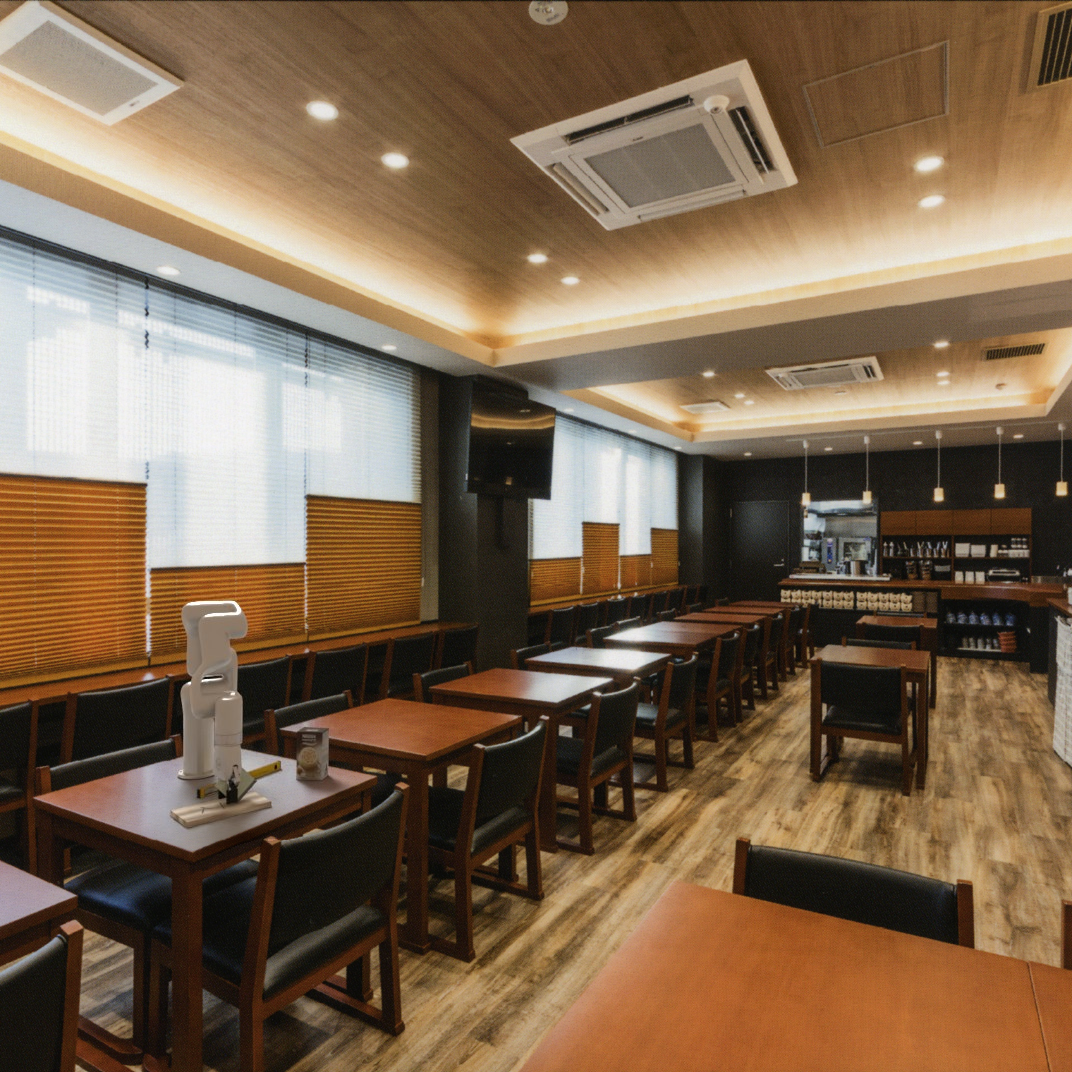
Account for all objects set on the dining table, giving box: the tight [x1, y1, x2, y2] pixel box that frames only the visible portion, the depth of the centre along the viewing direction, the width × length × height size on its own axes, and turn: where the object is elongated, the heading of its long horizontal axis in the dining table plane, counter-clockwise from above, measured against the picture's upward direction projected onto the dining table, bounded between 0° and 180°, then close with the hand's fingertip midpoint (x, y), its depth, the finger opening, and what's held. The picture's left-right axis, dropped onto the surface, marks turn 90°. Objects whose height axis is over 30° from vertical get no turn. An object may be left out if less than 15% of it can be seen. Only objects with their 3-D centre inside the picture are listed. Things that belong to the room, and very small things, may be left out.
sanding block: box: [214, 767, 257, 804], centre depth 218 cm, size 5×8×7 cm
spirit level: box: [196, 760, 282, 799], centre depth 240 cm, size 33×1×3 cm, turn 155°
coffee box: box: [295, 726, 330, 781], centre depth 246 cm, size 9×6×16 cm
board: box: [170, 790, 272, 829], centre depth 215 cm, size 13×24×2 cm, turn 134°
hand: (227, 799), depth 216 cm, fingers closed on sanding block, 5 cm apart
